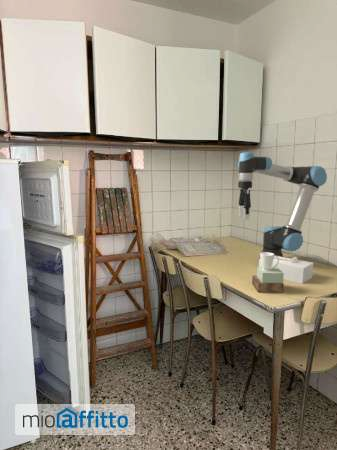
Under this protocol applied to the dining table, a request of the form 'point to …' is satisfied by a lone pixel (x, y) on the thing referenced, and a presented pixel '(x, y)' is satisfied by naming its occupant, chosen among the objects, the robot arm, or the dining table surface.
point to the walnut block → (266, 286)
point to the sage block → (270, 275)
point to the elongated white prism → (293, 269)
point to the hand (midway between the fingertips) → (243, 218)
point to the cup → (267, 260)
